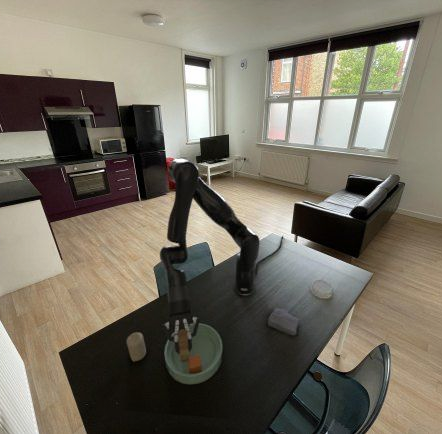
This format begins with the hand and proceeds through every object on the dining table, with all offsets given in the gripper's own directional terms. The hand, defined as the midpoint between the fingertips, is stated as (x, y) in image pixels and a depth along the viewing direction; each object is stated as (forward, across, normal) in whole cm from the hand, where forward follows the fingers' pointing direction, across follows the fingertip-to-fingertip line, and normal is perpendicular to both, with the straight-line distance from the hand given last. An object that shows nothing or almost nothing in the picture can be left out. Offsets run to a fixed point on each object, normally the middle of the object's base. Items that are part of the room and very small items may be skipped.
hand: (184, 352), depth 81 cm
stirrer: (+2, 0, +5) cm, 6 cm away
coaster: (-9, +68, +20) cm, 72 cm away
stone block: (0, +42, +11) cm, 43 cm away
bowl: (+3, +3, +7) cm, 8 cm away
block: (+6, +3, +3) cm, 8 cm away
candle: (-1, -16, +11) cm, 20 cm away
